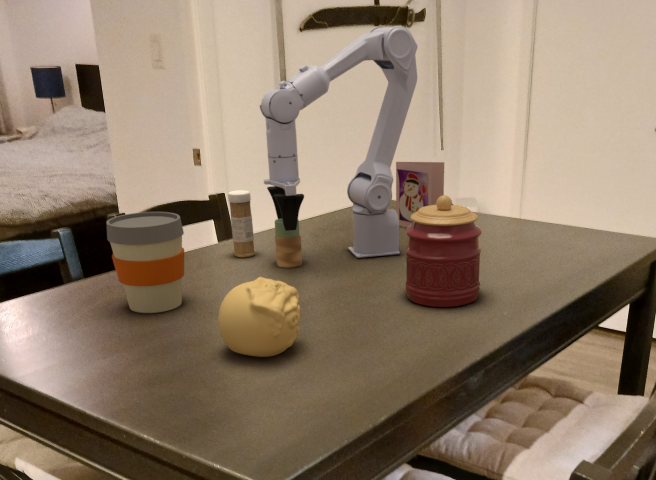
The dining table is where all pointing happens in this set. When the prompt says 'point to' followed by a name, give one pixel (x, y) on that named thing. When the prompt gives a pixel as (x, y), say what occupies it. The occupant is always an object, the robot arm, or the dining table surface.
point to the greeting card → (417, 187)
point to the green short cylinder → (282, 232)
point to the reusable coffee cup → (148, 259)
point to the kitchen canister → (443, 255)
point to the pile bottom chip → (289, 259)
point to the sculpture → (260, 317)
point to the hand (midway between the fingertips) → (287, 225)
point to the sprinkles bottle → (241, 223)
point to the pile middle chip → (288, 244)
